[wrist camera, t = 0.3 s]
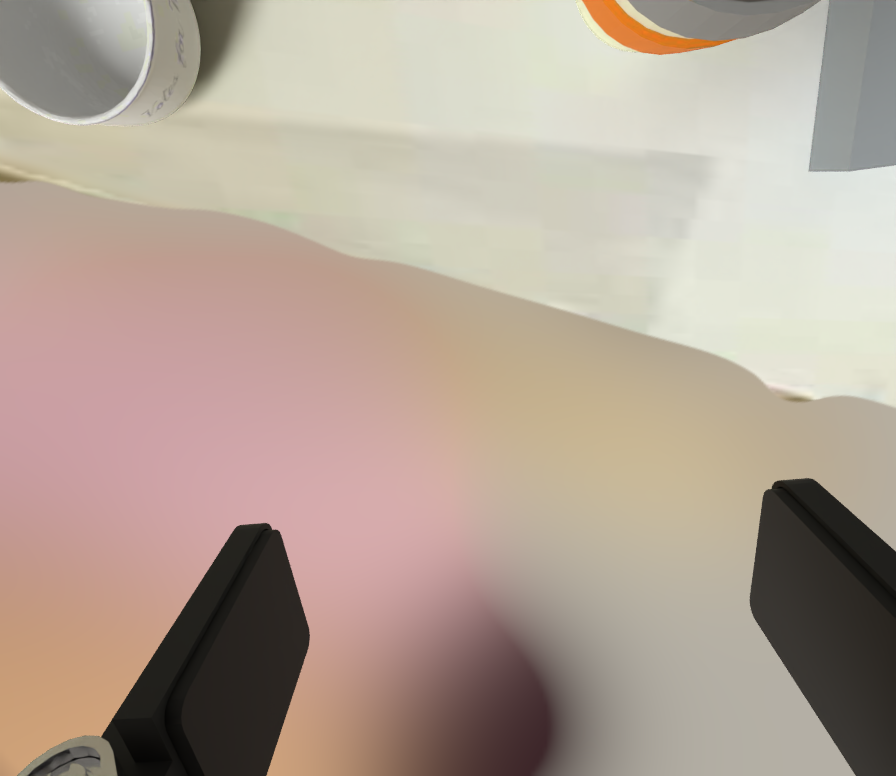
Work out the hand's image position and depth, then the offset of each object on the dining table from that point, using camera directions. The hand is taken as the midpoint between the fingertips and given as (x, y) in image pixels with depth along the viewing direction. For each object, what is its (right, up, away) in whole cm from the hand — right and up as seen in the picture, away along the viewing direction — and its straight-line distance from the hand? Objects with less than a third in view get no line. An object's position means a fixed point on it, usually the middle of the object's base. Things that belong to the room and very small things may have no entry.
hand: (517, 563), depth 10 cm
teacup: (-21, +27, +23) cm, 42 cm away
